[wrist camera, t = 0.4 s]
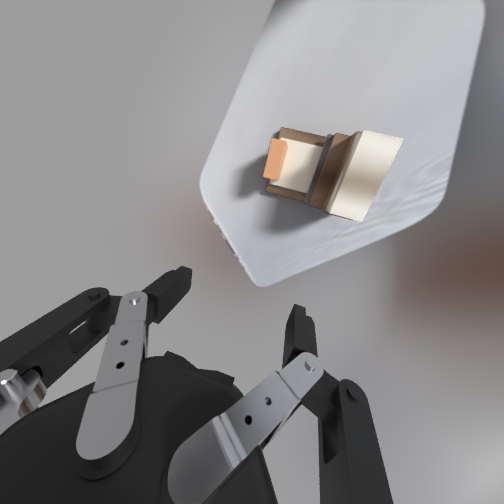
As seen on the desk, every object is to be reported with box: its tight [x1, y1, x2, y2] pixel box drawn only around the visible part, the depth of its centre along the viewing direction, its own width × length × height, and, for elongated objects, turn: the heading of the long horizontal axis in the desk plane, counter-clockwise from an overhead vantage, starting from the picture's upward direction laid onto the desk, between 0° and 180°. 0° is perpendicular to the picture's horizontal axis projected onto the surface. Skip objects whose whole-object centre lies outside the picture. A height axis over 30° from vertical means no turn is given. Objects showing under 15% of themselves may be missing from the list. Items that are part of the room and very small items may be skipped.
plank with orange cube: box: [263, 137, 323, 193], centre depth 28 cm, size 7×10×6 cm
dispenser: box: [265, 127, 403, 222], centre depth 26 cm, size 10×14×11 cm
